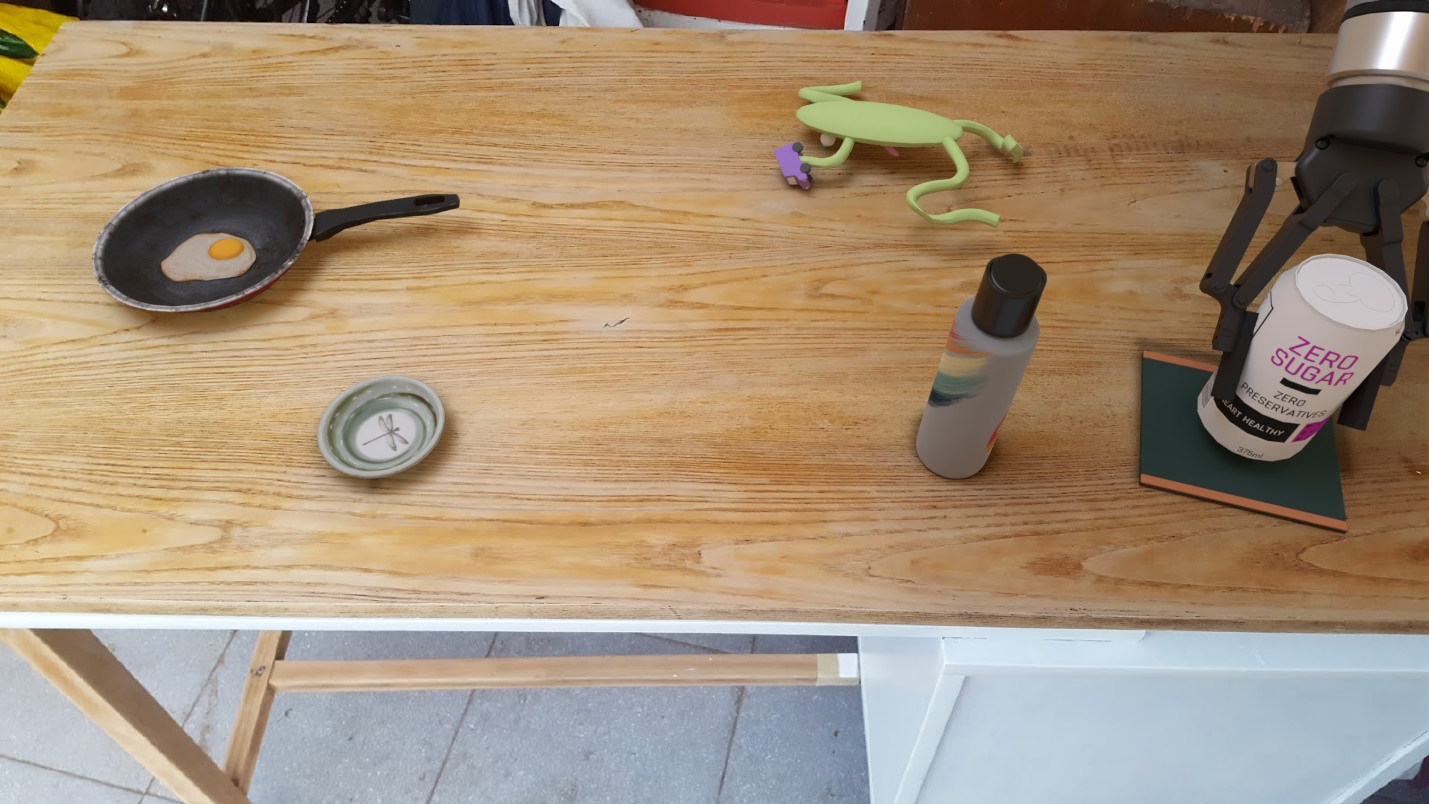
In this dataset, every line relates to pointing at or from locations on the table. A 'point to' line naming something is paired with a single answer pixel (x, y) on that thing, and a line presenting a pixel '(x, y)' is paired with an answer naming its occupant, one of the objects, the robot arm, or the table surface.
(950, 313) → the table surface
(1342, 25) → the robot arm
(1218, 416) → the supplement can
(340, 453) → the saucer
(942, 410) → the lotion bottle
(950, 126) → the figurine
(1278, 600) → the table surface
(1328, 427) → the mat
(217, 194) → the frying pan
